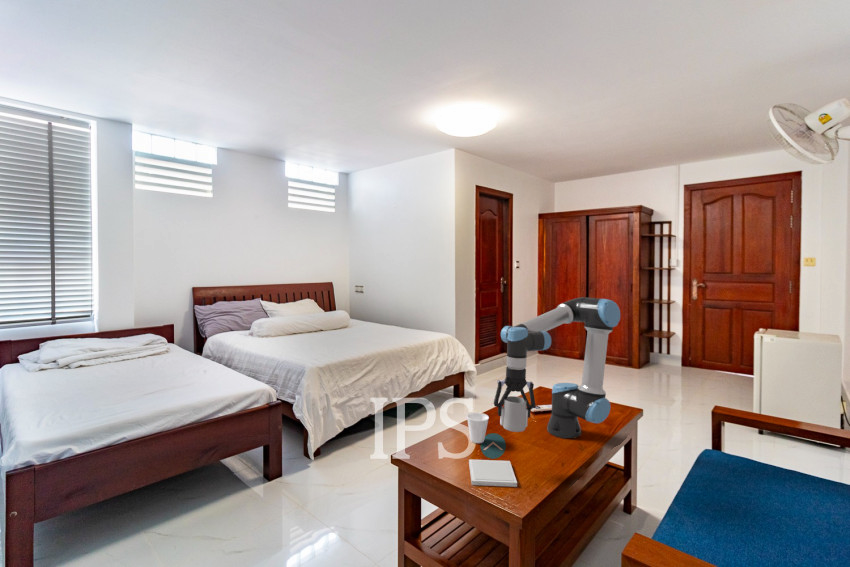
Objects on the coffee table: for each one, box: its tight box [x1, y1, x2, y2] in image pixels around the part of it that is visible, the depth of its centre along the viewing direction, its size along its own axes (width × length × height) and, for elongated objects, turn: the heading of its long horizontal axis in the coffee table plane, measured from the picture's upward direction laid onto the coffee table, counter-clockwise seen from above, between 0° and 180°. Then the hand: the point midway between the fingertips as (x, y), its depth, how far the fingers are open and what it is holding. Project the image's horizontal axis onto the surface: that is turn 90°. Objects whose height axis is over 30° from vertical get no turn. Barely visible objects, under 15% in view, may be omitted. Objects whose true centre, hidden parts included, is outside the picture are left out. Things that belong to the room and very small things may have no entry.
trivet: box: [468, 459, 518, 488], centre depth 153 cm, size 16×16×2 cm
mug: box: [502, 395, 527, 433], centre depth 159 cm, size 12×8×11 cm
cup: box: [466, 412, 490, 444], centre depth 181 cm, size 10×10×11 cm
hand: (513, 424), depth 159 cm, fingers closed on mug, 9 cm apart
